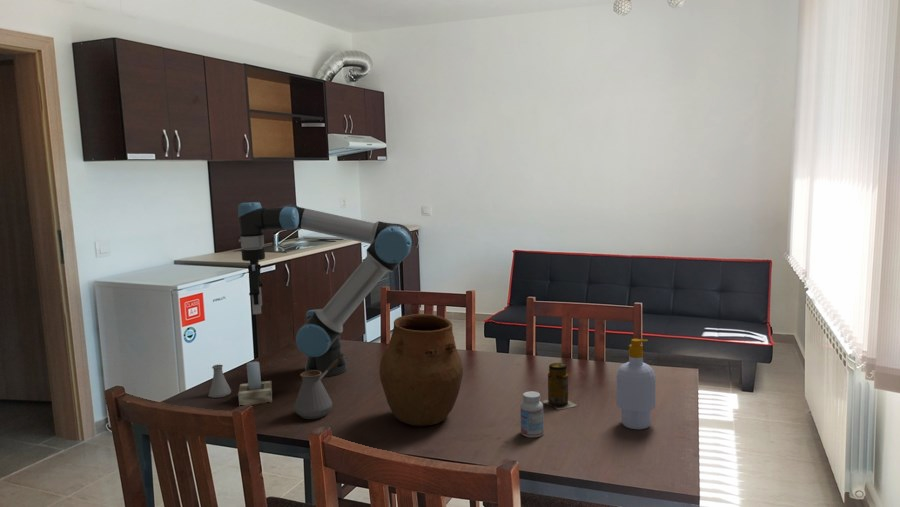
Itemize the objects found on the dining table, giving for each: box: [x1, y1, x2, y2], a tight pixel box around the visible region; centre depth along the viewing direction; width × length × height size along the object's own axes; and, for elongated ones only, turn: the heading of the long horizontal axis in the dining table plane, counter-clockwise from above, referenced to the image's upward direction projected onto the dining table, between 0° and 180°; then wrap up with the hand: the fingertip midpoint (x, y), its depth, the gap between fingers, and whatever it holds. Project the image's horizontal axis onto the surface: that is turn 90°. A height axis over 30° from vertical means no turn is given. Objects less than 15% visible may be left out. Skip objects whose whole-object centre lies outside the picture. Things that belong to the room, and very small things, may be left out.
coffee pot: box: [293, 353, 348, 420], centre depth 199 cm, size 21×12×15 cm, turn 149°
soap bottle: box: [616, 338, 657, 430], centre depth 177 cm, size 10×10×24 cm
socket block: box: [237, 380, 273, 407], centre depth 211 cm, size 10×10×4 cm
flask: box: [208, 364, 232, 399], centre depth 216 cm, size 7×7×10 cm
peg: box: [246, 361, 262, 391], centre depth 211 cm, size 4×4×12 cm
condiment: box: [541, 362, 578, 411], centre depth 196 cm, size 7×8×12 cm
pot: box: [379, 313, 464, 427], centre depth 186 cm, size 24×24×30 cm
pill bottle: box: [520, 390, 545, 439], centre depth 175 cm, size 6×6×11 cm
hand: (257, 309), depth 222 cm, fingers open, 13 cm apart
